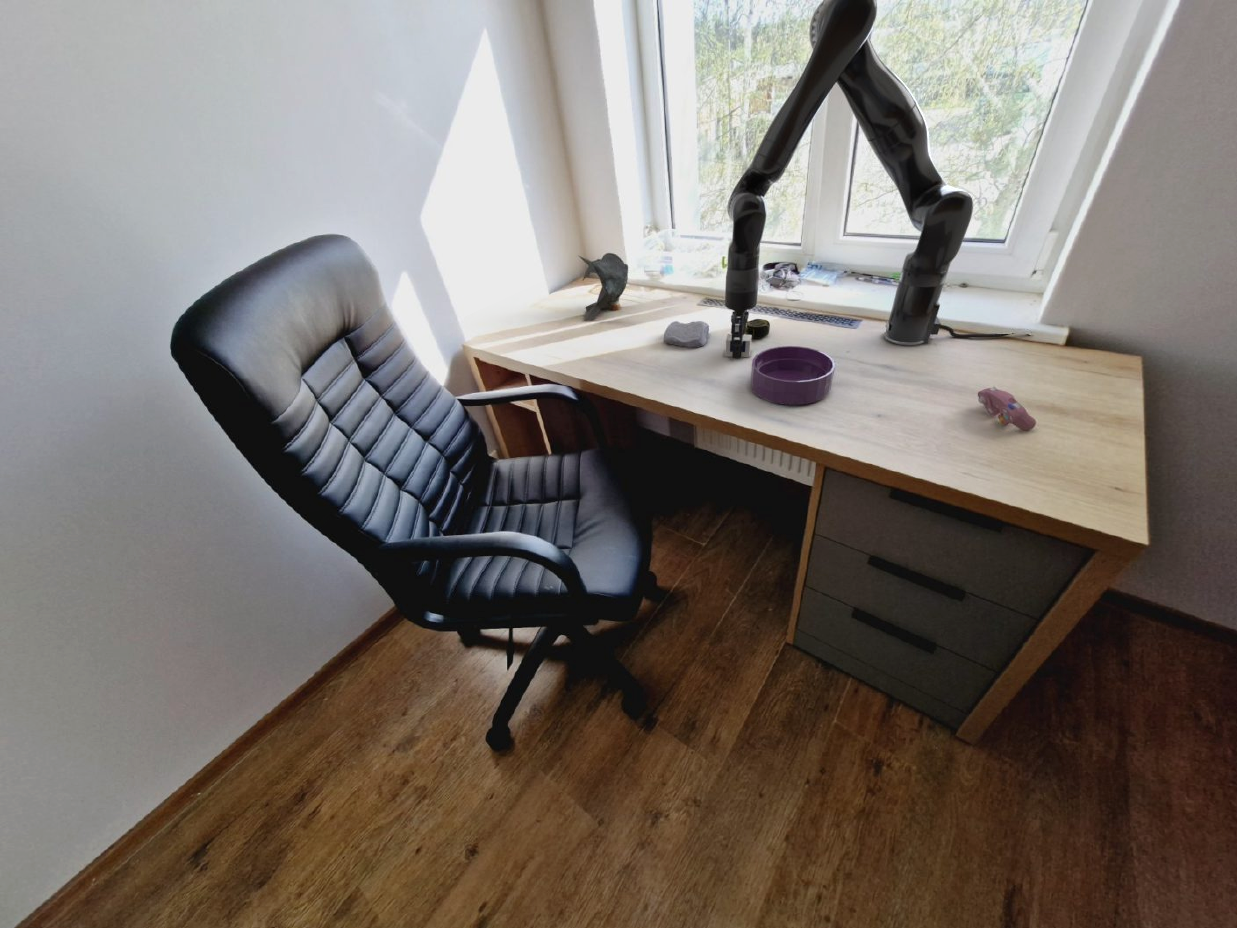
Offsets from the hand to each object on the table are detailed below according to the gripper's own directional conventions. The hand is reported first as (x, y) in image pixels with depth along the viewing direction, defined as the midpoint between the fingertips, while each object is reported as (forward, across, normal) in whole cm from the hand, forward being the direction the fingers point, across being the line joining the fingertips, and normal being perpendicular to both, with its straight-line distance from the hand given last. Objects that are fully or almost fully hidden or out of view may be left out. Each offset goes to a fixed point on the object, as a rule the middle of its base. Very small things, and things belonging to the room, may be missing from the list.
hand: (737, 352), depth 121 cm
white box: (0, 0, 0) cm, 0 cm away
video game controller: (+1, -24, -51) cm, 56 cm away
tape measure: (+1, +12, -3) cm, 12 cm away
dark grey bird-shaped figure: (+1, +29, +45) cm, 54 cm away
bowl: (0, -16, -13) cm, 21 cm away
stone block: (+1, +7, +15) cm, 17 cm away
